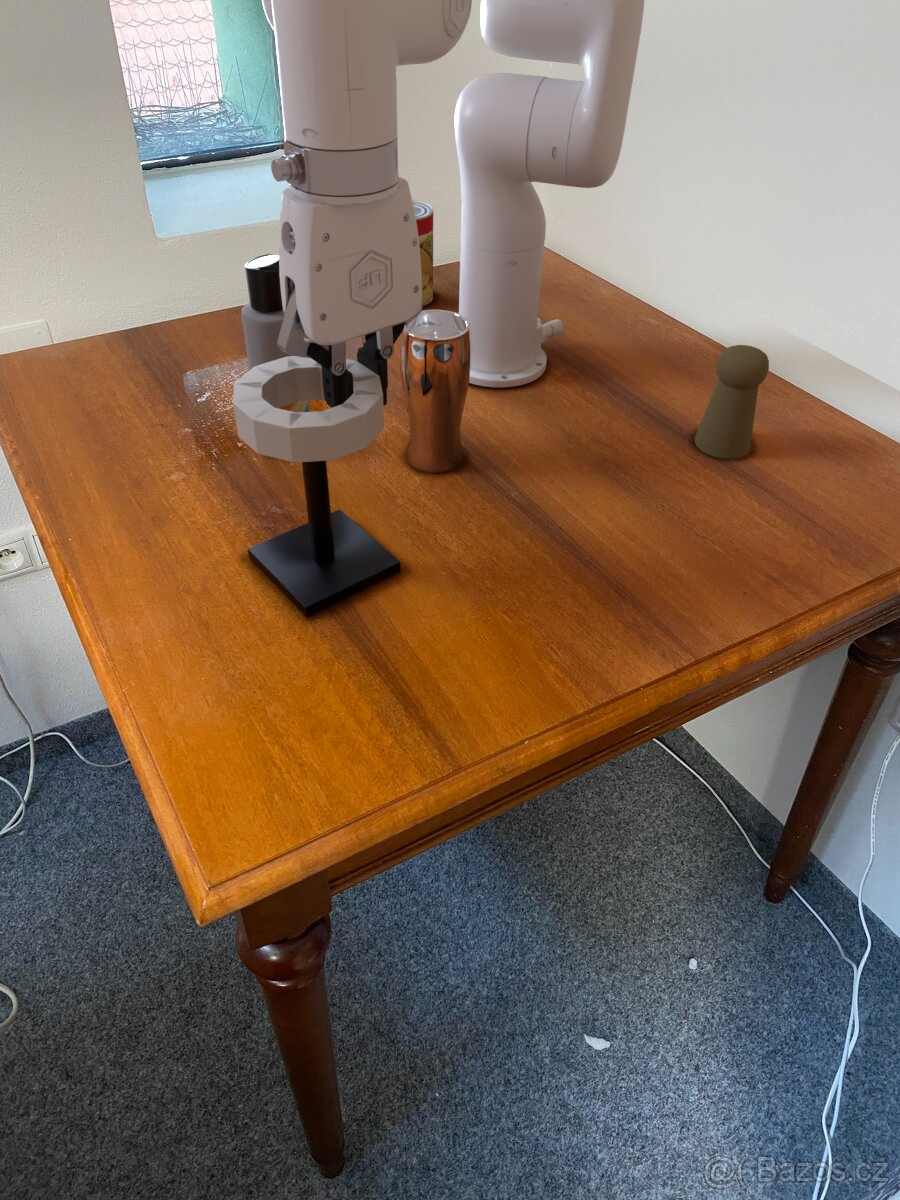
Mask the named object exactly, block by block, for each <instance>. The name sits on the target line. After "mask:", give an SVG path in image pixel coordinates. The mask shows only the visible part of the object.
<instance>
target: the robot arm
mask: <svg viewBox="0 0 900 1200" xmlns="http://www.w3.org/2000/svg"><path fill="white" fill-rule="evenodd" d="M261 2H262V8H263V10H264V14H265V16H266V20H267V22H268V23H269V25H270V27H271V29H272V30H273V31H274V38H275V39H274V41H275V49H276V50H275V51H276V60H277V61H276V62H277V72H278V80H279V81H278V82H279V92H280V100H281V102H280V103H281V111H282V122H283V130H284V131H283V132H284V141H283V143H282V144H283V153H284V155H282V156H281V157H280V158H277V159H272V161H271V164H270V171H271V174H272V176H273V178H274V179H275V181H276V182H284V181H285V182H287V183H288V184H289V186H288V187H286V188H283V190H282V195H281V202H280V211H279V212H280V213H279V224H278V225H279V226H278V227H279V229H278V256H279V270H280V286H281V297H282V305H283V311H284V319H283V323H282V326H281V330H280V333H279V337H278V340H277V346H278V347H279V348H280V349H281V350H282V351H284V352H285V353H287V354H289V355H293V356H298V357H304V358H305V357H307V358H311V359H313V360H314V361H316V362H317V363H319V364H320V365H321V366H322V378H323V390H324V398H325V401H324V402H325V403H326V404H327V405H328V407H330V408H333V407H336V406H339V405H341V404H344V403H345V402H346V401H347V399H348V398H349V397H350V396H351V395H352V394H353V375H352V373H351V372H350V371H348V370H347V369H346V359H347V352H346V351H347V350H346V349H347V348H346V347H347V346H346V342H348V341H351V340H354V339H357V338H361V343H362V346H361V347H358V348H357V352H356V361H357V362H359V363H360V364H362V365H363V366H365V367H366V368H368V369H369V370H371V371H372V372H374V373H375V374H377V375H379V376H380V382H381V387H382V392H383V407H384V406H386V405H387V404H388V390H387V389H388V387H389V375H388V374H389V373H388V372H389V371H388V360H389V359H391V358H392V357H393V355H394V352H395V343H396V342H397V341H398V339H399V337H401V333H402V331H403V329H404V326H405V325H407V324H408V323H410V322H411V321H412V320H413V319H414V318H415V317H416V316H417V315H419V314H420V312H421V311H423V306H422V304H421V303H422V275H421V259H420V248H419V238H418V230H417V223H416V217H415V211H414V206H413V202H412V200H413V198H412V194H411V189H410V186H409V182H408V181H407V179H405V178H402V177H400V176H399V141H398V140H399V139H398V138H399V137H398V92H397V91H398V87H397V85H398V83H397V82H398V81H397V68H398V66H399V67H400V66H410V65H422V64H423V65H424V64H429V63H432V62H436V61H437V60H439V59H441V58H443V57H444V56H446V55H447V54H449V52H450V51H452V49H454V47H455V46H456V45H457V44H458V43H459V41H460V39H462V36H463V34H464V32H465V31H466V28H467V25H468V22H469V19H470V17H471V16H470V15H471V11H472V4H473V0H261ZM479 3H480V5H479V27H480V34H481V38H482V41H484V43H485V44H486V46H487V48H489V50H491V51H492V52H495V53H496V54H499V55H502V56H506V57H510V58H517V59H525V60H530V61H531V60H532V61H541V62H552V63H561V64H573V65H578V66H580V67H581V68H582V69H583V72H584V81H582V80H574V79H565V78H564V79H562V78H556V77H548V76H542V75H531V74H524V73H523V74H522V73H512V72H511V73H510V72H494V73H487V74H483V75H480V76H477V77H476V78H474V79H472V80H470V81H469V82H468V83H467V84H466V85H465V86H464V87H463V89H462V90H461V92H460V94H459V96H458V97H457V100H456V104H455V109H454V123H453V125H454V129H453V130H454V139H455V147H456V154H457V161H458V169H459V176H460V177H459V180H460V198H461V199H460V200H461V201H460V202H461V204H460V205H461V206H460V207H461V212H460V215H461V216H460V217H461V218H460V219H461V220H460V247H459V249H460V252H459V253H460V254H459V255H460V257H459V288H458V291H459V293H458V298H459V299H458V314H460V315H462V316H464V317H465V318H466V319H467V320H468V321H469V323H470V345H471V368H470V380H469V384H472V385H474V386H478V387H485V388H496V389H497V388H498V389H499V388H501V389H502V388H503V389H505V388H514V387H519V386H524V385H526V384H529V383H532V382H533V381H535V380H538V378H540V377H541V376H542V375H543V374H544V373H545V372H546V368H547V361H548V358H547V355H546V352H545V350H544V349H543V348H542V344H544V343H545V342H546V341H547V339H551V338H554V337H556V336H560V335H561V334H563V332H564V324H563V322H562V320H560V319H559V318H556V319H553V320H549V321H547V322H545V323H543V324H542V320H541V318H540V317H539V306H540V297H541V296H540V295H541V287H542V286H541V285H542V275H543V262H544V251H545V241H546V232H547V221H546V215H545V210H544V207H543V204H542V202H541V199H540V197H539V195H538V192H537V191H536V189H535V186H534V185H533V184H532V183H540V184H549V185H556V186H562V187H563V186H564V187H571V188H572V187H573V188H580V189H581V188H582V189H594V188H599V187H601V186H603V185H605V184H606V183H607V182H608V181H609V180H610V179H611V178H612V176H613V174H614V172H616V171H615V170H616V169H617V166H618V162H619V159H620V156H621V152H622V147H623V142H624V136H625V131H626V125H627V124H626V123H627V117H628V113H629V112H628V111H629V107H630V100H631V99H630V98H631V94H632V87H633V83H634V76H635V69H636V63H637V57H638V51H639V46H640V39H641V34H642V28H643V27H642V25H643V20H644V19H643V18H644V12H645V10H644V9H645V0H480V2H479ZM304 335H306V337H304Z"/></svg>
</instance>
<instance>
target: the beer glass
mask: <svg viewBox="0 0 900 1200" xmlns="http://www.w3.org/2000/svg"><path fill="white" fill-rule="evenodd" d="M399 348H400V349H399V369H400V370H399V371H400V382H401V387H402V393H403V399H404V404H405V408H406V412H407V417H408V423H409V438H408V444H407V448H406V455H405V457H406V461H407V463H408V465H410V466H411V467H412V468H414V469H415V470H418V471H421V472H425V473H430V474H439V473H446V472H450V471H453V470H454V469H456V468H457V467H459V466H460V465H461V464H462V462H463V459H464V451H463V445H462V440H461V439H462V438H461V423H462V418H463V413H464V409H465V405H466V399H467V395H468V391H469V385H470V383H469V380H470V368H471V345H470V323H469V321H468V320H467V319H466V318H465V317H464V316H462V315H460V314H459V312H454V311H452V310H445V309H424V310H423V309H422V311H421V312H420V314H419V315H417V316H416V317H415V318H414V319H413V320H412V321H411V322H410V323H408V324H407V325H405V326H404V329H403V331H402V333H401V334H400V347H399Z"/></svg>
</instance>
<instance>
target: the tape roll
mask: <svg viewBox="0 0 900 1200" xmlns="http://www.w3.org/2000/svg"><path fill="white" fill-rule="evenodd" d="M346 369H347V370H348V371H350V372H351V373H352V375H353V394H352V395H351V396H350V397H349V398H348V399H347V401H346V402H345V403H344V404H341V405H339V406H336V407H333V408H331V407H330V408H328V409H324V410H320V411H311V412H300V413H295V412H291V411H287V410H282V409H278V408H280V407H283V406H286V405H289V404H292V403H295V402H297V401H324V402H326V401H325V398H324V390H323V378H322V366H321V365H320V364H319V363H317V362H316V361H314V360H313V359H311V358H307V357H305V358H304V357H298V356H287V357H283V358H280V359H277V360H274V361H271V362H268V363H264V364H261V365H258V366H255V367H253V368H252V369H251V370H248V371H247V372H246V373H245V374H243V375H242V376H241V377H240V378H239V379H237V380H236V381H235V382H234V383H233V394H232V407H233V413H234V420H235V425H236V433H237V437H238V438H239V439H240V440H242V441H243V442H244V444H245V445H247V446H248V447H249V448H251V450H253V452H255V453H256V454H258V455H260V456H265V457H269V458H274V459H277V460H282V461H286V462H290V463H296V464H297V463H302V462H312V461H326V462H327V461H335V460H337V459H340V458H343V457H345V456H348V455H351V454H353V453H356V452H358V451H360V450H363V449H366V448H367V447H369V446H370V445H371V444H372V443H373V441H374V440H375V439H376V438H377V436H379V434H380V433H382V431H383V430H384V428H385V413H384V406H383V392H382V387H381V382H380V376H379V375H377V374H375V373H374V372H372V371H371V370H369V369H368V368H366V367H365V366H363V365H362V364H360V363H359V362H357V360H353V359H348V358H346Z"/></svg>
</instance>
